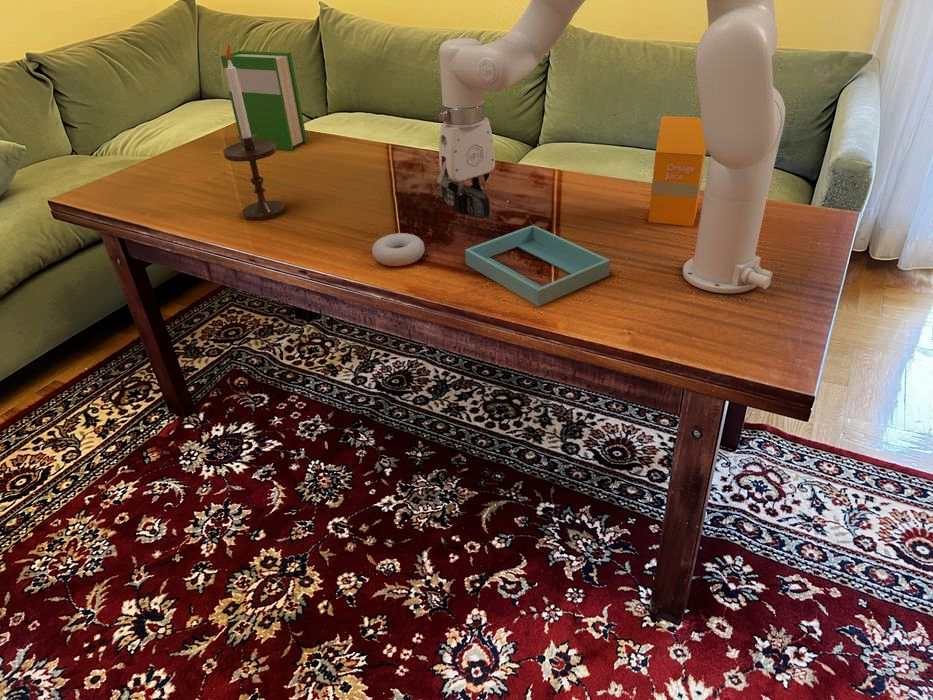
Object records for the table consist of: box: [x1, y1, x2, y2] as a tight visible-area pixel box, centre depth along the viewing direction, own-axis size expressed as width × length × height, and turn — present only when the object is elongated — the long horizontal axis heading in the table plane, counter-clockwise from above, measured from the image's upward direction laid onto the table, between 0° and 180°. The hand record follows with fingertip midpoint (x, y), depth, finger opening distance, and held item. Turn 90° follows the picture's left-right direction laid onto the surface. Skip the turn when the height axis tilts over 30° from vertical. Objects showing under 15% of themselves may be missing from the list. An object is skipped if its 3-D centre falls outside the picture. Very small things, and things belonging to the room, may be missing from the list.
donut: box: [371, 232, 426, 267], centre depth 128 cm, size 10×4×10 cm
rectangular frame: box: [464, 224, 611, 307], centre depth 121 cm, size 20×16×3 cm
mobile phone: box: [440, 179, 497, 222], centre depth 131 cm, size 5×3×15 cm
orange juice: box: [647, 115, 707, 227], centre depth 132 cm, size 8×9×20 cm
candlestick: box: [222, 43, 286, 221], centre depth 141 cm, size 11×11×35 cm
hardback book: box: [220, 50, 308, 152], centre depth 187 cm, size 18×7×24 cm, turn 65°
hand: (468, 208), depth 133 cm, fingers closed on mobile phone, 3 cm apart
